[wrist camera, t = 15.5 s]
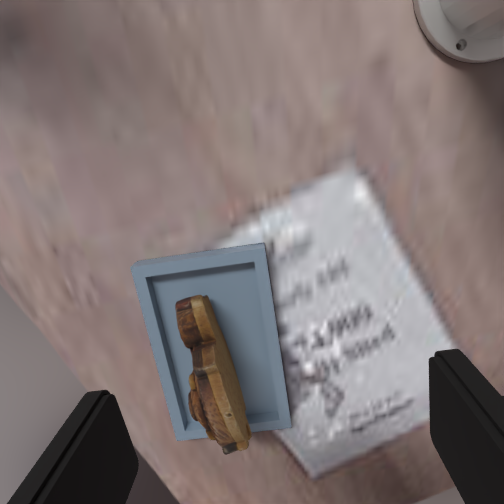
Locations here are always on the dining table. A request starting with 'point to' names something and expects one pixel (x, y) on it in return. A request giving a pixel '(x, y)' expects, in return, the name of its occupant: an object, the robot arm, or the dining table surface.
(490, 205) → the dining table surface
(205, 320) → the wooden carving
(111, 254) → the dining table surface
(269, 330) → the tray
